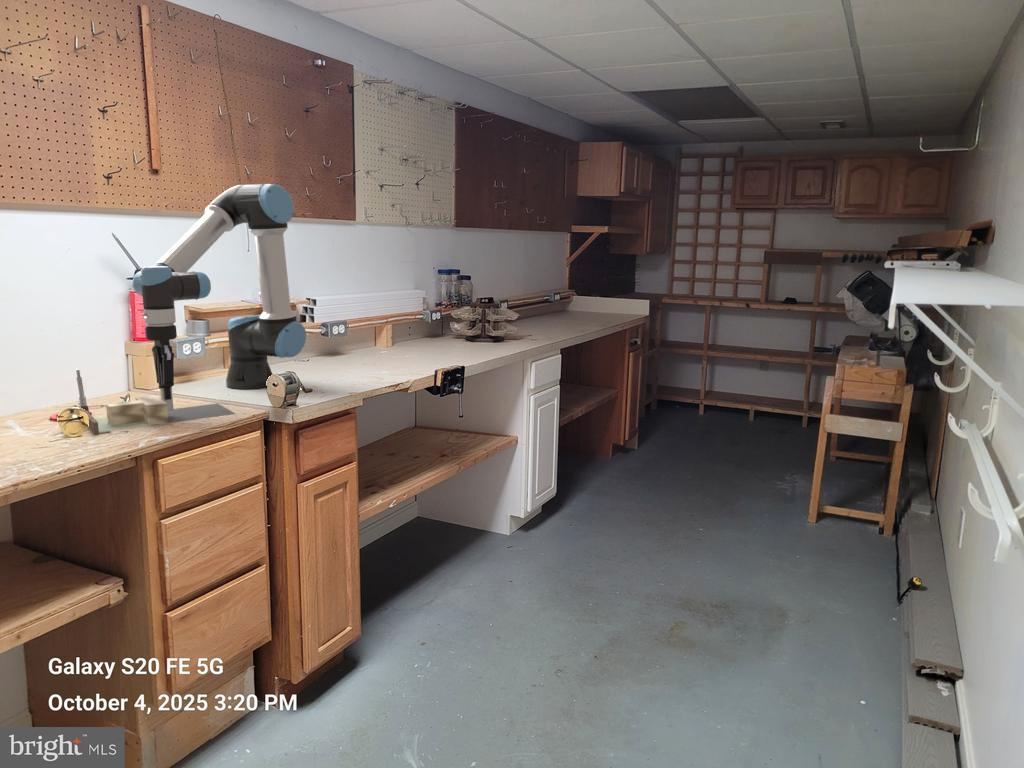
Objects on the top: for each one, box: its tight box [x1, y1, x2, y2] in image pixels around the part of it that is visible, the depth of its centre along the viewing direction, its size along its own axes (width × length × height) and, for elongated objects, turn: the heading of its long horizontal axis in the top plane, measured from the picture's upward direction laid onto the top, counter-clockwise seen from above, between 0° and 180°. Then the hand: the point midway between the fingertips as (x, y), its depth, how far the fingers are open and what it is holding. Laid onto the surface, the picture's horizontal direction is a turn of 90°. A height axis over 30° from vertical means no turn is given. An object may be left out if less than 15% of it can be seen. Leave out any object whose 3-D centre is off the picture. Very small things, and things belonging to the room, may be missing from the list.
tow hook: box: [49, 368, 92, 422], centre depth 202 cm, size 8×13×9 cm
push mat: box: [85, 402, 236, 435], centre depth 202 cm, size 35×16×3 cm, turn 128°
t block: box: [105, 395, 169, 426], centre depth 198 cm, size 13×12×5 cm
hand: (167, 410), depth 203 cm, fingers closed
